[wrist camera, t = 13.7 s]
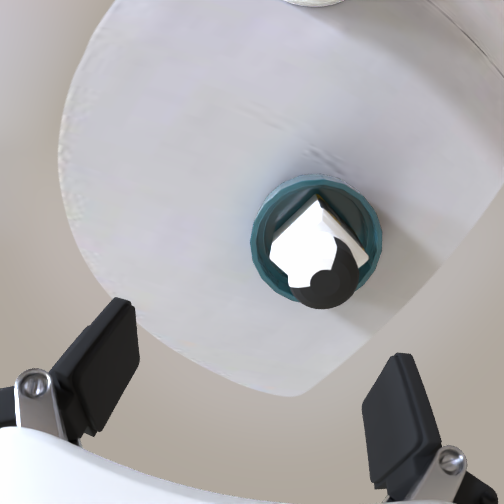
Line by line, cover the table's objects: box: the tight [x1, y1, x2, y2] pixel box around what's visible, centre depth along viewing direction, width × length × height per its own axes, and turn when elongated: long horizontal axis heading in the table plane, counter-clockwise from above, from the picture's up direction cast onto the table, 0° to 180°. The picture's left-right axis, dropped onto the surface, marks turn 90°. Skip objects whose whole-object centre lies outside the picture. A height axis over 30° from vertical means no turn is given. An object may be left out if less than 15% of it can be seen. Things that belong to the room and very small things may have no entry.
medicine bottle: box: [270, 194, 369, 309], centre depth 30 cm, size 7×7×12 cm
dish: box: [250, 174, 382, 302], centre depth 34 cm, size 14×14×4 cm
